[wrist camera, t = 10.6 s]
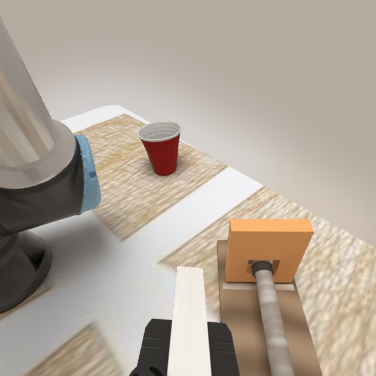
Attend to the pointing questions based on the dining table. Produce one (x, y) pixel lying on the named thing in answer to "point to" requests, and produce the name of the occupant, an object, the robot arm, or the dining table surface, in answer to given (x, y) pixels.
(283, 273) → the upright orange slab
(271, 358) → the pipe stand
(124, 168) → the dining table surface
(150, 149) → the plastic cup
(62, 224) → the dining table surface
